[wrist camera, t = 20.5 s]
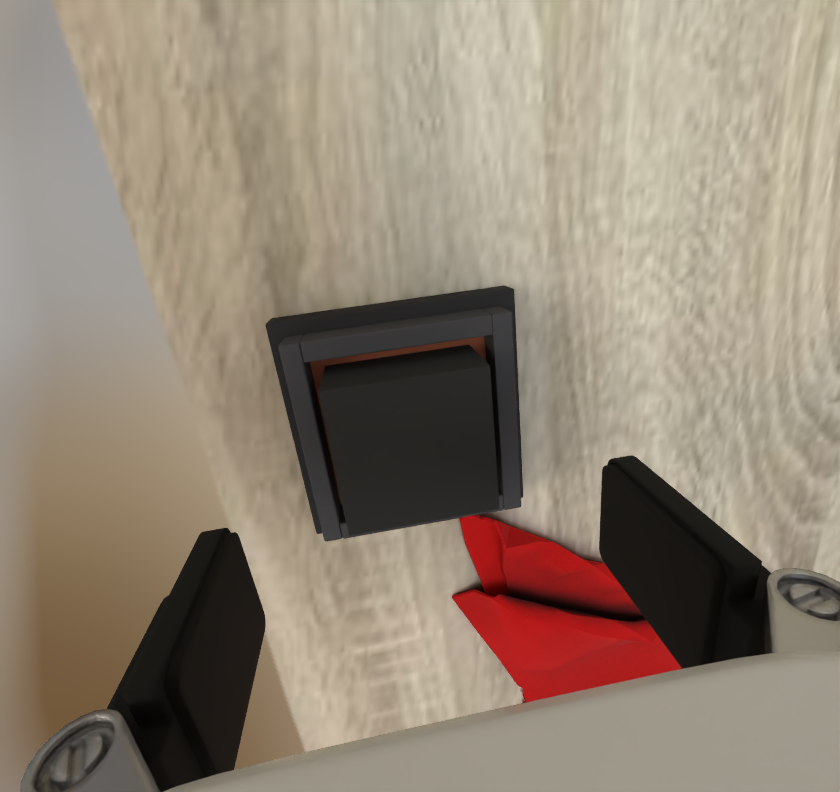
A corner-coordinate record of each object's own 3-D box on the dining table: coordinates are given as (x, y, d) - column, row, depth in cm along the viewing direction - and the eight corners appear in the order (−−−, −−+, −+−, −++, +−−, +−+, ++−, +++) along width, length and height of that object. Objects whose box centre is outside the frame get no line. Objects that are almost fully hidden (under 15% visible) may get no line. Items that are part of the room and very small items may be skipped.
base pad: (318, 519, 22) (313, 556, 20) (270, 318, 18) (256, 331, 16) (515, 485, 23) (534, 516, 20) (505, 285, 19) (527, 293, 17)
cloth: (705, 746, 32) (729, 782, 30) (525, 807, 32) (537, 847, 30) (680, 440, 23) (712, 461, 21) (426, 522, 23) (432, 552, 21)
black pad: (350, 491, 20) (348, 536, 17) (324, 365, 18) (317, 391, 15) (479, 469, 21) (500, 509, 18) (469, 343, 19) (490, 365, 16)
